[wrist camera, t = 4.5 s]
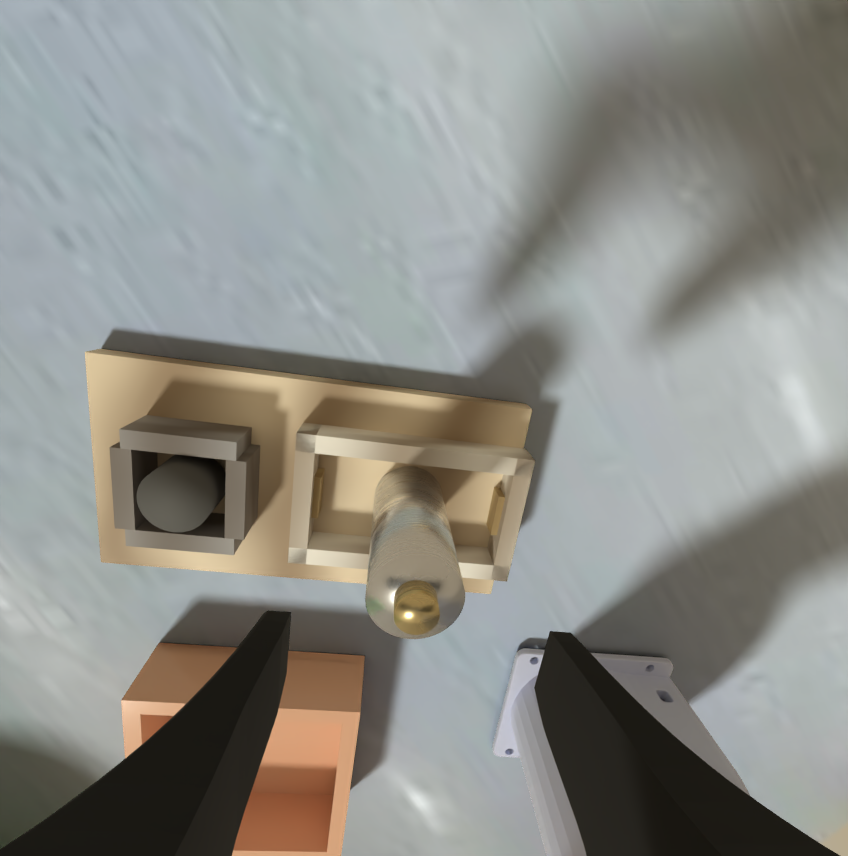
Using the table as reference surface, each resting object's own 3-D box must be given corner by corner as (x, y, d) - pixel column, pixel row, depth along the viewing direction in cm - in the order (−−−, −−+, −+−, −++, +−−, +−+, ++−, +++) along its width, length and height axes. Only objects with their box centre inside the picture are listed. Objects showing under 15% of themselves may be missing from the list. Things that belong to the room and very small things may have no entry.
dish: (364, 655, 25) (360, 712, 22) (346, 793, 28) (340, 861, 25) (159, 642, 24) (121, 700, 21) (164, 788, 27) (132, 859, 24)
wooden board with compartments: (528, 404, 21) (549, 422, 18) (488, 581, 24) (501, 621, 21) (100, 348, 19) (49, 359, 16) (113, 550, 22) (72, 589, 19)
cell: (446, 470, 21) (477, 575, 13) (436, 530, 22) (459, 661, 14) (378, 462, 20) (370, 566, 13) (370, 523, 21) (358, 654, 14)
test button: (228, 454, 19) (210, 472, 17) (227, 511, 20) (210, 535, 18) (160, 447, 19) (134, 465, 17) (162, 505, 20) (137, 529, 18)
